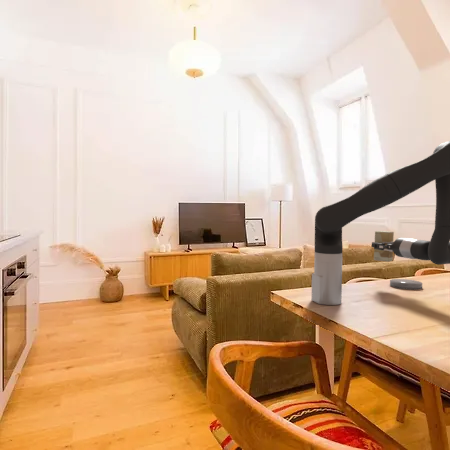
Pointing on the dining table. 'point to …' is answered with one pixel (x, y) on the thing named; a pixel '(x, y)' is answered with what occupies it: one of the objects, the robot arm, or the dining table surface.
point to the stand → (406, 284)
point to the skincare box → (385, 237)
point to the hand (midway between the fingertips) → (380, 244)
